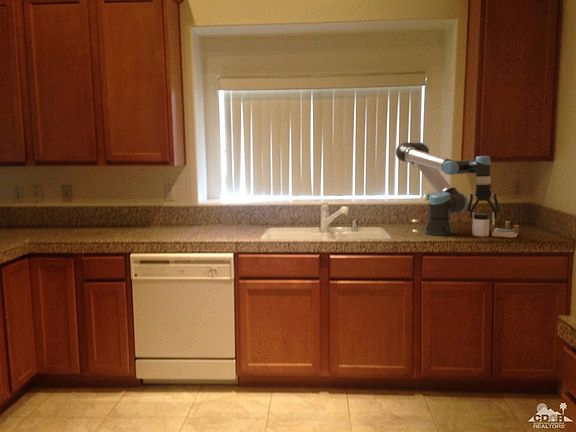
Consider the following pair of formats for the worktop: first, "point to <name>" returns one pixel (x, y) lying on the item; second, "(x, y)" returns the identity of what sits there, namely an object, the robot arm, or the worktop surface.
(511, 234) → the cradle board
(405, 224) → the worktop surface
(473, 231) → the jar
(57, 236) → the worktop surface
